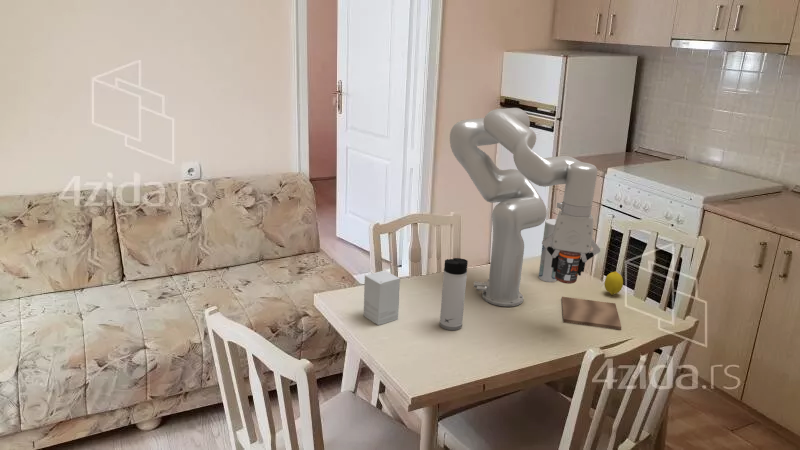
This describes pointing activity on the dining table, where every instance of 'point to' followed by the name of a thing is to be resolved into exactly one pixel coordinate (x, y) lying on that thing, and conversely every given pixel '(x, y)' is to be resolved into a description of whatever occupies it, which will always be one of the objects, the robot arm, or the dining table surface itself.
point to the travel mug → (453, 293)
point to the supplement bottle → (567, 267)
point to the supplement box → (381, 297)
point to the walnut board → (590, 313)
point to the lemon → (613, 282)
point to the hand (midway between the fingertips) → (567, 271)
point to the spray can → (547, 255)
